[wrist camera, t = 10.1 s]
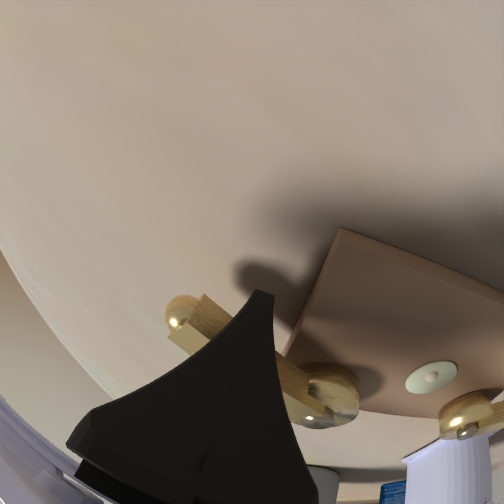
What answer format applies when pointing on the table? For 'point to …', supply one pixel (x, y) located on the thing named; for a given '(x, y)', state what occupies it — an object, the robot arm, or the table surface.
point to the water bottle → (325, 484)
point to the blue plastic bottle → (393, 493)
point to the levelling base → (401, 328)
